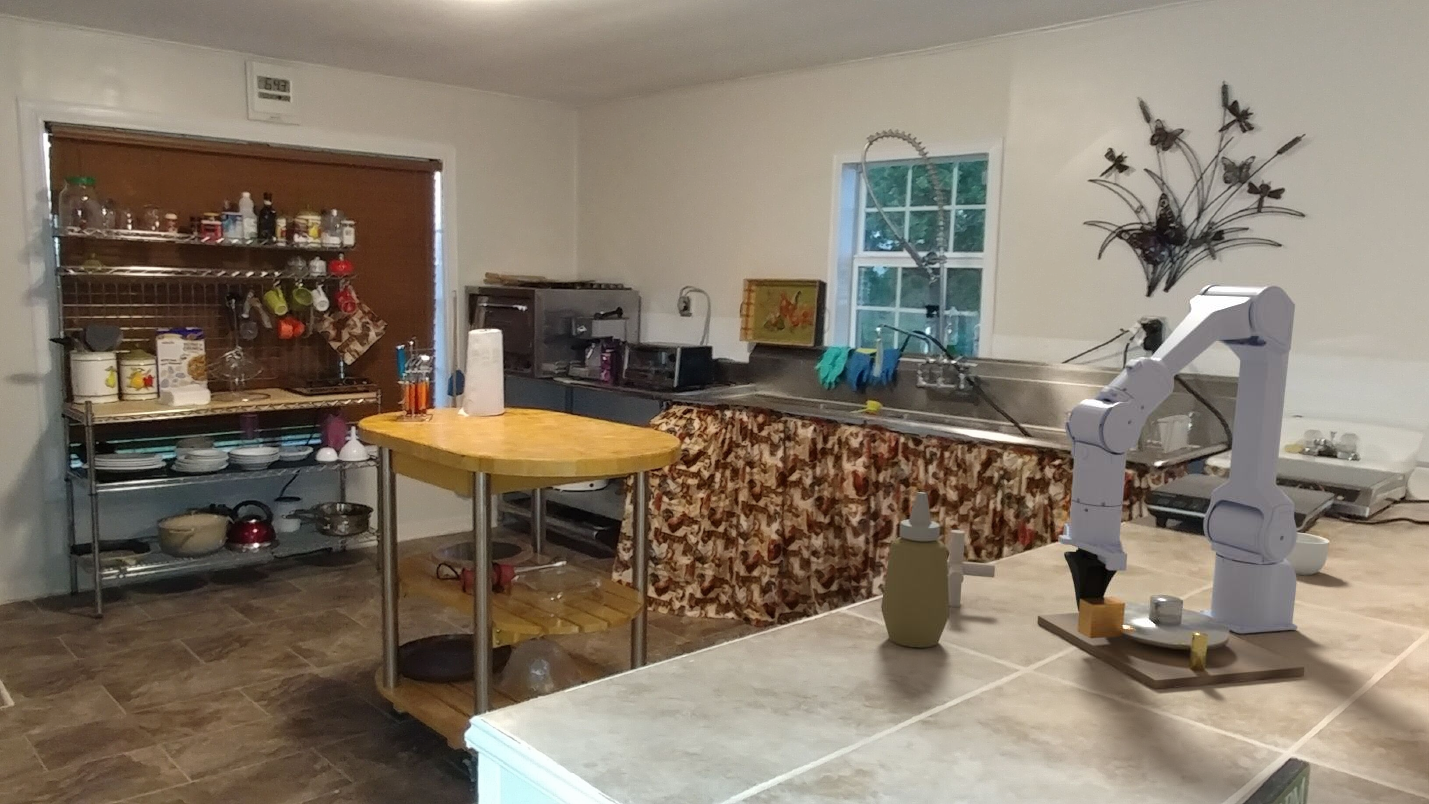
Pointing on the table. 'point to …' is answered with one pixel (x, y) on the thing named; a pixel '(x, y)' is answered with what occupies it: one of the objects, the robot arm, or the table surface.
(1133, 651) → the flat brown board
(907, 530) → the squeeze bottle
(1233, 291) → the robot arm
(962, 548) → the pipe connector
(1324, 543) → the teacup
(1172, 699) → the table surface
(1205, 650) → the dowel
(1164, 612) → the disc with block handle
